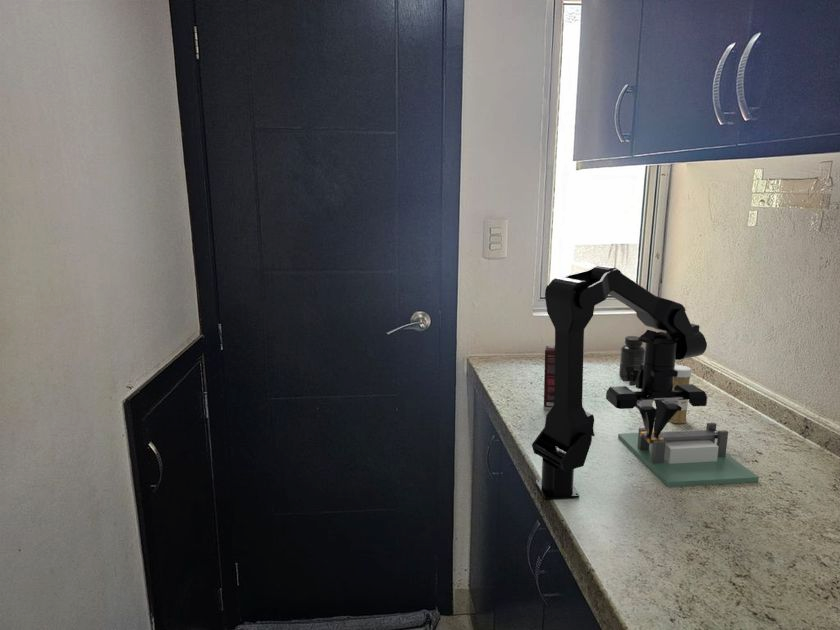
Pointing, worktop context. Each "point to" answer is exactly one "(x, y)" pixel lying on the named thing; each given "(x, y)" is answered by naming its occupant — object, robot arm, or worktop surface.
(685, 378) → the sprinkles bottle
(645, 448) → the board
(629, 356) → the supplement bottle
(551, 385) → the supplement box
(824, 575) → the worktop surface
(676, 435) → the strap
